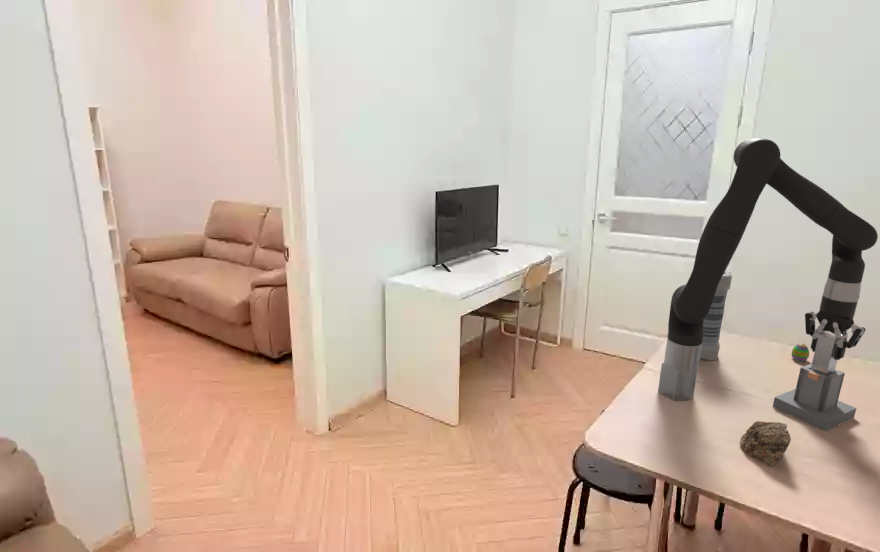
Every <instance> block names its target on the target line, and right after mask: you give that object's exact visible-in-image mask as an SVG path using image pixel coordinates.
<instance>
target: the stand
mask: <svg viewBox="0 0 880 552" xmlns="http://www.w3.org/2000/svg"><path fill="white" fill-rule="evenodd" d="M811 365H812V363H810V364H807V365H804V366H801V367H800V370H799V374H798V377H797V382H796V387H795V388H794V389H792V390H789V391H786V392H784V393H781V394H779V395H776V396H775V397H774V399H773V402H772V403H773V404H772V407H773V408H775V409H778V410H780V411H782V412H783V413H785V414H788V415H790V416H791V417H795V418H796V419H799V421H802V422H805V423H806V424H809V425H811V426H814V427H815V428H817V429H820V430H822V431H824V432H827V431H829V430H831V428H832V429H833V427H834V428H835V426H836V427H837V425H838V426H840V425H842V424H844V423H846V422H848V421H850V420H852V418H853V419H855V415H856V411H857V408H856V406H855V407H854V406H852V405H849V404H847V403H845V402H843V401H840V400H839V398H840V394H841V390H842V387H843V382H844V379H845V374H846V373H845V372H843V371H841V370H839V369H836V368H835V372H834V374H831V375H829V376H826V375H823V374H821V373H818V372H816V371H813V370H811ZM845 421H846V422H845ZM843 422H844V423H843ZM841 423H842V424H841ZM839 424H840V425H839Z"/></svg>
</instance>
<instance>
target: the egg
mask: <svg viewBox="0 0 880 552" xmlns="http://www.w3.org/2000/svg"><path fill="white" fill-rule="evenodd" d="M809 356H810V349H809V348H808V346H807V344H805V343H803V342H800V343H798V344H795V346H794V347H793V348H792V351H791V357H792V359H793V360H794V361H796V362H801V363H803V362H806V361H807V360H808V359H809Z"/></svg>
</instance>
